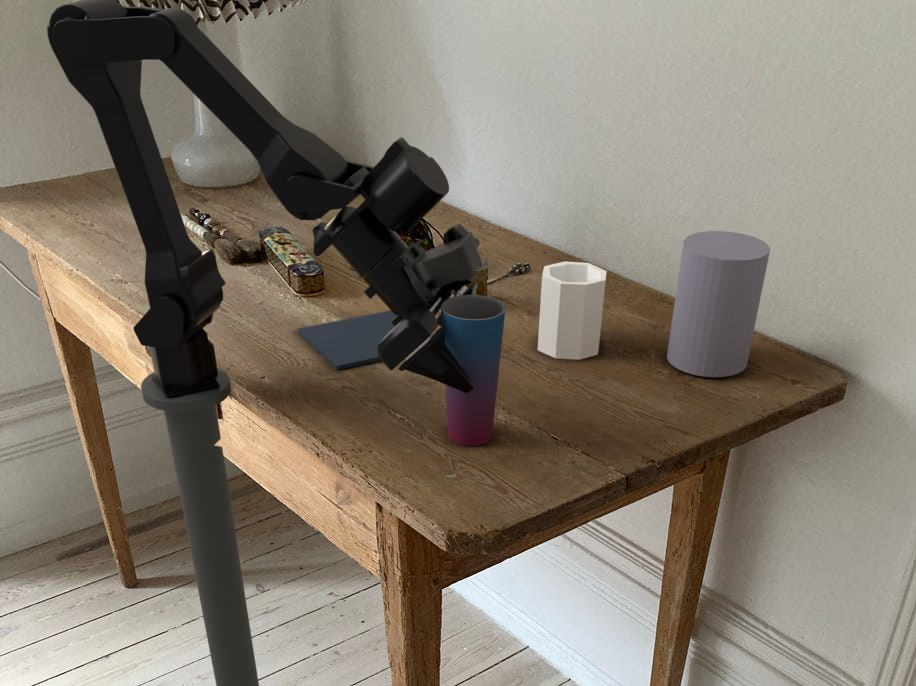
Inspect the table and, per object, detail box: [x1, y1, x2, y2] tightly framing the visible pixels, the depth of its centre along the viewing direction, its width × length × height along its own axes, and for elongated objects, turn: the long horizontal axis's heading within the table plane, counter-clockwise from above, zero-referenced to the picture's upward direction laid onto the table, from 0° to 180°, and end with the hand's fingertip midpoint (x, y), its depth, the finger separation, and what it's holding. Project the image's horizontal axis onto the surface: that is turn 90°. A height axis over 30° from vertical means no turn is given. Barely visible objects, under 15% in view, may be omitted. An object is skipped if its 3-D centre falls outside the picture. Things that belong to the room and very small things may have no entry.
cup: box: [441, 294, 507, 447], centre depth 112 cm, size 7×7×15 cm
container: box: [666, 230, 771, 379], centre depth 129 cm, size 10×10×15 cm
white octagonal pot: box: [537, 261, 607, 361], centre depth 135 cm, size 12×9×10 cm
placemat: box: [297, 310, 396, 371], centre depth 136 cm, size 15×13×1 cm
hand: (482, 372), depth 112 cm, fingers open, 9 cm apart
